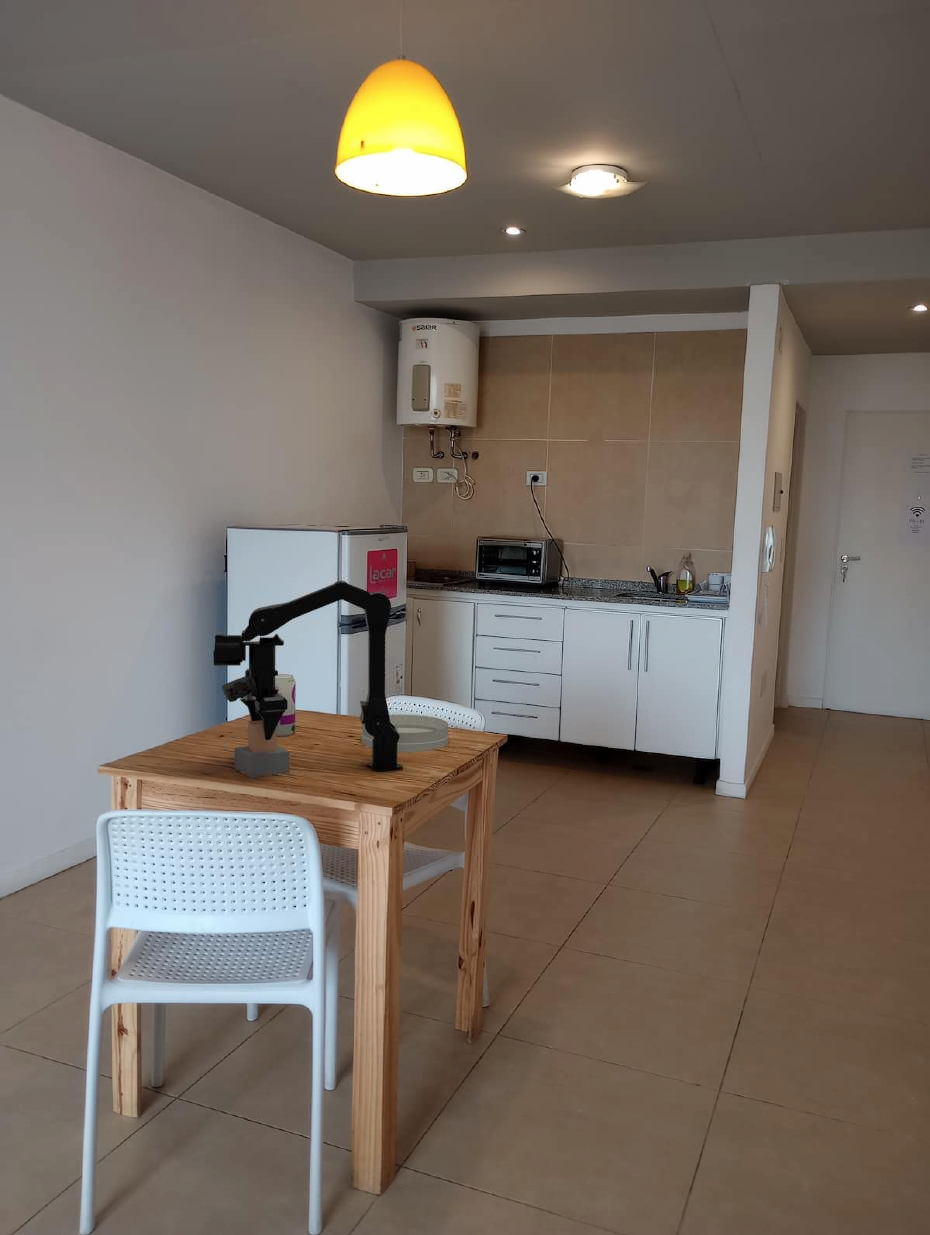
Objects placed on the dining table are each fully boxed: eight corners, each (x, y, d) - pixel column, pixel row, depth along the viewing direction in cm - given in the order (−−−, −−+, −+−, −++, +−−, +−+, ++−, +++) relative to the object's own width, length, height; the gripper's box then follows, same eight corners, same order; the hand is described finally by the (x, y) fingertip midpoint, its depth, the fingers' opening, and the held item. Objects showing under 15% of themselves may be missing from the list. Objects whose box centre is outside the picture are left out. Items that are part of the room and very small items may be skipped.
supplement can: (295, 729, 258) (295, 673, 257) (295, 736, 250) (295, 678, 249) (263, 730, 257) (263, 673, 255) (262, 737, 249) (262, 678, 247)
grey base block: (289, 773, 216) (289, 751, 216) (250, 779, 211) (250, 756, 210) (272, 764, 223) (272, 743, 223) (234, 769, 218) (234, 747, 218)
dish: (464, 740, 253) (464, 721, 252) (420, 757, 233) (421, 737, 233) (391, 729, 263) (391, 711, 262) (343, 745, 243) (343, 725, 243)
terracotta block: (276, 751, 215) (276, 724, 215) (253, 753, 213) (253, 725, 213) (270, 746, 220) (270, 719, 219) (248, 748, 218) (248, 721, 217)
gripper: (215, 661, 219) (215, 729, 221) (236, 674, 203) (236, 748, 204) (264, 658, 224) (264, 726, 226) (288, 671, 208) (288, 743, 209)
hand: (262, 735), depth 216 cm, fingers open, 9 cm apart
